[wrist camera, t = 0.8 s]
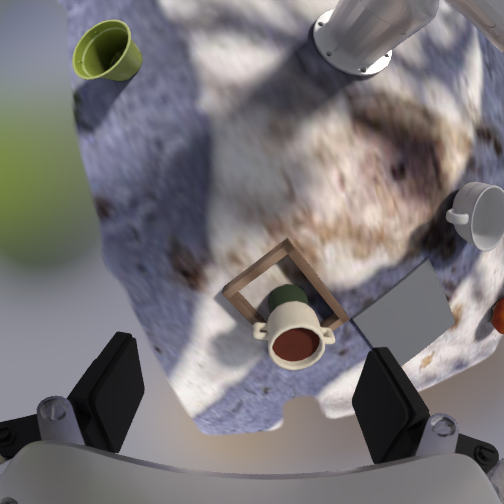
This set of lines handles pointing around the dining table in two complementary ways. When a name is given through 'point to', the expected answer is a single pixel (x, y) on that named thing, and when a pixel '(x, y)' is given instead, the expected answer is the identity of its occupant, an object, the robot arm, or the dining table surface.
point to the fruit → (498, 316)
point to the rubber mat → (407, 314)
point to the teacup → (479, 215)
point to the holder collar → (265, 263)
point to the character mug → (292, 330)
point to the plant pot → (107, 53)
